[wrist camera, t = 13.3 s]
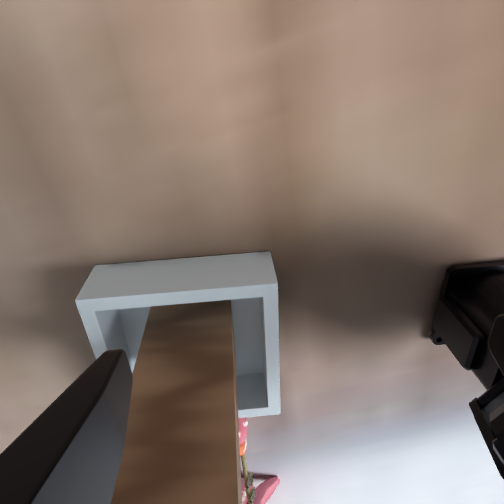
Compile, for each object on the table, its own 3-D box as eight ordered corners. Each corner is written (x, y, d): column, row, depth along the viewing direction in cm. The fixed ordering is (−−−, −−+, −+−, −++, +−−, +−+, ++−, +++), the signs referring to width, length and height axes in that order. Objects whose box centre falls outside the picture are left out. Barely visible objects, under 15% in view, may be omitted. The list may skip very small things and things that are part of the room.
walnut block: (230, 298, 23) (239, 537, 12) (235, 356, 26) (246, 599, 14) (151, 304, 23) (83, 552, 12) (163, 362, 26) (117, 613, 14)
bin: (270, 251, 23) (277, 283, 19) (274, 373, 28) (280, 414, 25) (94, 265, 22) (74, 300, 19) (132, 386, 27) (120, 429, 24)
